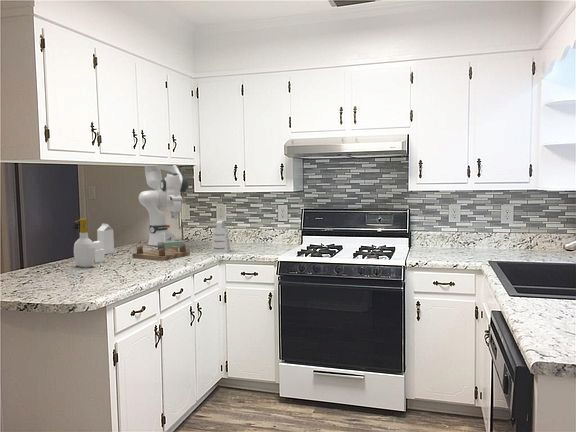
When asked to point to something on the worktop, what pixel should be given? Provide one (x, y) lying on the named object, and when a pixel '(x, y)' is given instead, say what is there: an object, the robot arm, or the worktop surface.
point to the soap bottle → (84, 247)
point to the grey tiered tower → (220, 238)
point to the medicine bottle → (98, 252)
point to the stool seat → (161, 253)
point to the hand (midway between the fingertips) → (174, 218)
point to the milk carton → (106, 238)
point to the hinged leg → (170, 244)
